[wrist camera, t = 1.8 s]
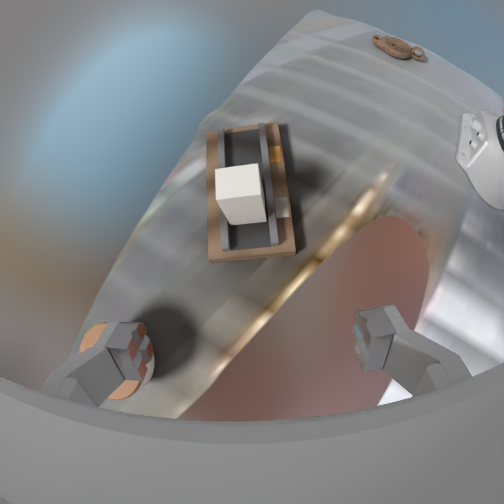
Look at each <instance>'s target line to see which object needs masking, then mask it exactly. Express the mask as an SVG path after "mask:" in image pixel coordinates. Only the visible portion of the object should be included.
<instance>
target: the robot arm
mask: <svg viewBox="0 0 504 504" xmlns="http://www.w3.org/2000/svg"><path fill="white" fill-rule="evenodd" d="M503 111H504V109H503ZM456 160H457V162H458V163H459V164H460V166H461V167H462V168H463V169H464V170H465V171H466V173H467V175H468V176H469V179H470V181H471V183H472V184H473V186H474V188H475V189H476V191H477V192H478V194H479V195H480V196H481V197H482V198H483V199H484V200H485V201H486V202H487V203H488V204H489V205H491V206H492V207H494V208H496V209H499V210H504V115H503V116H499V115H496V114H494V113H492V112H489V111H485V110H483V111H480V112H478V113H477V115H473V114H469V113H464V114H463V115H462V116H461V125H460V133H459V141H458V147H457V154H456ZM355 321H356V323H357V324H356V326H355V327H354V328H353V334H352V339H353V346H354V349H355V351H356V352H357V353H358V354H359V358H358V361H359V363H360V366H361V369H362V372H368V371H375V370H381V369H383V370H384V371H385V372H386V373H387V374H388V375H389V376H391V377H392V378H393V379H394V380H395V381H396V382H398V383H399V384H400V385H401V386H402V387H404V388H405V389H406V390H407V391H408V392H409V393H411V394H412V395H413V396H412V397H411V398H408V399H404V400H400V401H396V402H392V403H388V404H384V405H379V406H375V407H370V408H366V409H360V410H355V411H349V412H344V413H337V414H331V415H324V416H316V417H308V418H297V419H286V420H271V421H240V422H239V421H238V422H235V421H234V422H232V421H230V422H229V421H197V420H196V421H195V420H181V419H170V418H160V417H152V416H144V415H137V414H130V413H124V412H118V411H113V410H108V409H103V408H98V406H99V405H101V404H102V403H103V402H104V401H105V400H106V399H107V398H108V397H109V396H110V395H111V394H112V393H113V392H114V391H115V390H116V389H117V388H118V387H119V386H120V385H121V384H123V383H124V382H125V380H132V381H144V378H145V375H146V373H147V370H148V369H147V366H146V364H148V363H149V362H150V361H151V359H152V356H153V346H152V342H151V340H150V338H149V337H147V336H146V335H145V334H146V331H147V330H146V327H145V325H144V324H143V323H138V322H114V321H111V322H109V323H108V324H107V325H106V327H105V329H104V330H103V332H102V333H101V335H100V337H99V338H98V340H97V342H96V343H95V345H94V347H89V348H88V349H86V350H85V351H83V352H81V353H80V354H78V355H77V356H75V357H74V358H72V359H71V360H69V361H68V362H66V363H64V364H63V365H61V366H60V367H58V368H57V369H55V370H54V371H52V372H51V373H50V375H49V377H48V378H47V380H46V381H45V383H44V385H43V386H42V388H41V390H40V392H38V391H35V390H32V389H29V388H27V387H24V386H21V385H18V384H15V383H13V382H10V381H8V380H5V379H3V378H1V377H0V504H504V363H502V364H500V365H498V366H496V367H494V368H492V369H489V370H487V371H485V372H483V373H480V374H478V375H476V376H473V377H472V375H471V374H470V372H469V370H468V369H467V367H466V365H465V364H464V362H463V361H462V359H461V357H460V356H459V355H457V354H456V353H454V352H452V351H450V350H448V349H447V348H445V347H443V346H441V345H439V344H437V343H436V342H434V341H432V340H430V339H428V338H426V337H425V336H423V335H421V334H419V333H417V332H415V331H414V330H413V331H410V330H409V328H408V326H407V325H406V323H405V321H404V320H403V318H402V317H401V315H400V314H399V312H398V310H397V309H396V307H395V306H394V305H389V306H383V307H379V308H372V309H365V310H357V312H356V314H355Z"/></svg>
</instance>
